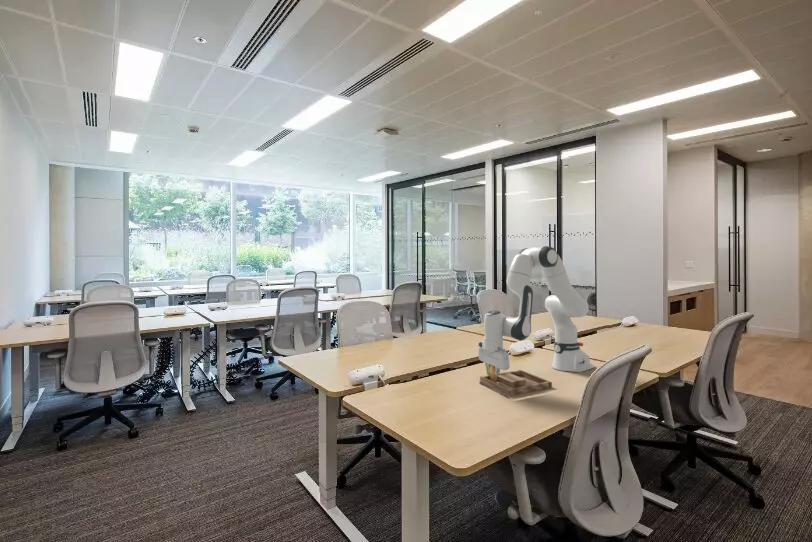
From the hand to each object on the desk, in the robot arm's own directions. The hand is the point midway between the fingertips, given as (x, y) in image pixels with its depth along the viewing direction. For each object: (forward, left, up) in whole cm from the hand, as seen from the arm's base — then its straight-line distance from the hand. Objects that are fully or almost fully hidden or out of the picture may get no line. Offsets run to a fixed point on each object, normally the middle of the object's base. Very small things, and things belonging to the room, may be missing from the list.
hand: (493, 374), depth 190 cm
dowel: (0, 0, -4) cm, 4 cm away
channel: (-8, +6, -5) cm, 11 cm away
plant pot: (-8, -12, -6) cm, 15 cm away
